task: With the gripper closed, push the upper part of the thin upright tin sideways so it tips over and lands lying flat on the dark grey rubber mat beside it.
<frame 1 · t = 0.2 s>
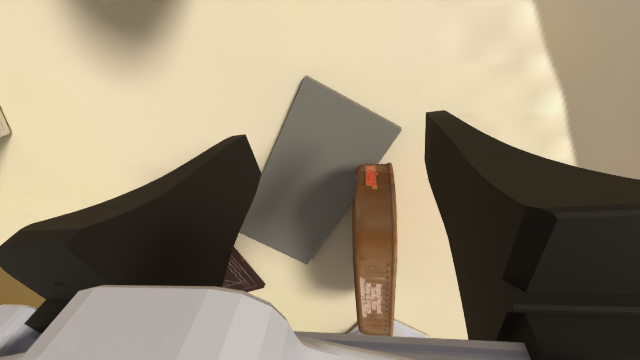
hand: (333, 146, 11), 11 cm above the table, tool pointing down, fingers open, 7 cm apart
chocolate bar: (190, 271, 35), on the table
tin: (369, 217, 26), on the table, touching mat
mat: (307, 185, 25), on the table
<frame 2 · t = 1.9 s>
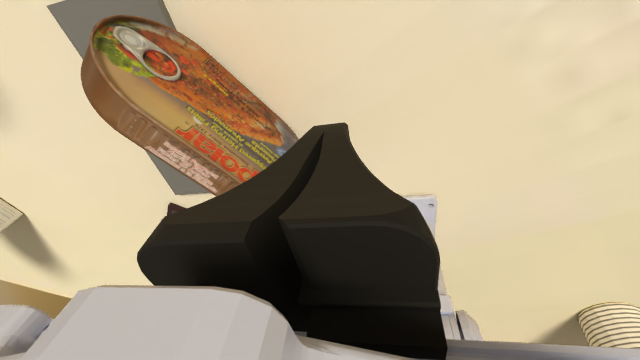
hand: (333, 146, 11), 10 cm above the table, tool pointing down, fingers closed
tin: (236, 100, 22), on the table, touching mat
mat: (168, 111, 23), on the table
cup: (606, 312, 33), on the table
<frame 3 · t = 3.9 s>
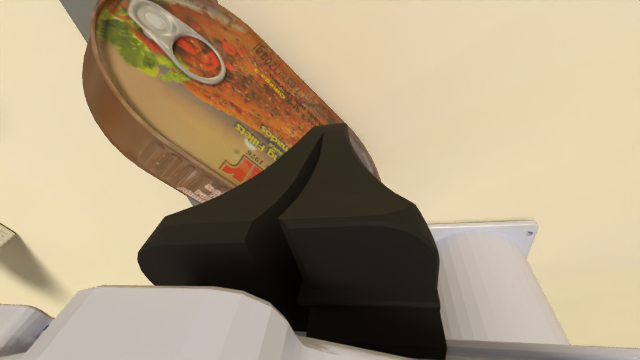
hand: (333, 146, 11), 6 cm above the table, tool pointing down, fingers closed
tin: (290, 99, 16), on the table, touching mat
mat: (197, 113, 18), on the table
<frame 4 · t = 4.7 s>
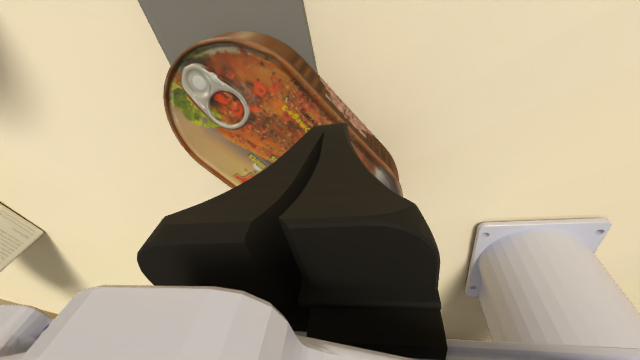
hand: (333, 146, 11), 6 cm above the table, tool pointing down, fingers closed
skincare box: (12, 216, 29), on the table
tin: (351, 109, 15), point 2 cm above the table, touching mat
mat: (258, 104, 17), on the table
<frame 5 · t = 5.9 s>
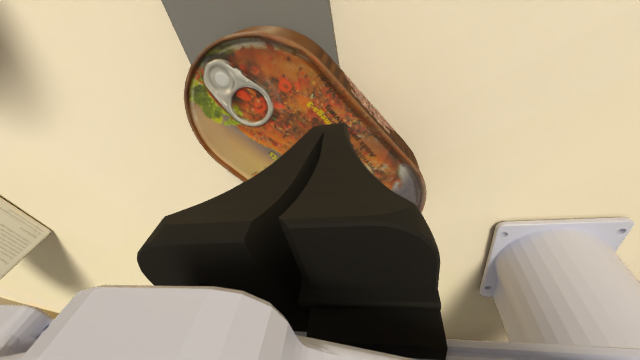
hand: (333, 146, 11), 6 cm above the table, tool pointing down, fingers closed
skincare box: (20, 215, 29), on the table
tin: (375, 105, 14), point 2 cm above the table, touching mat
mat: (277, 101, 17), on the table
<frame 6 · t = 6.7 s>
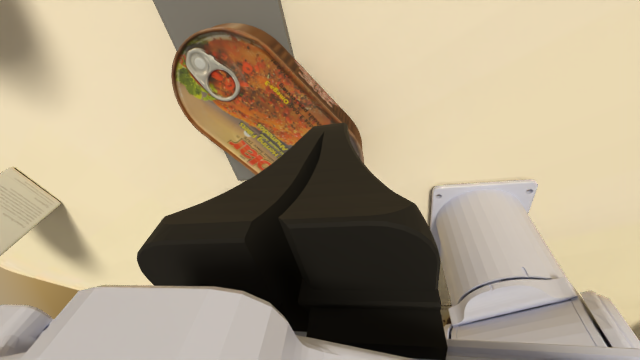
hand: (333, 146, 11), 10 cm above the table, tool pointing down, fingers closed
skincare box: (34, 188, 33), on the table
tin: (320, 84, 19), point 2 cm above the table, touching mat
mat: (247, 83, 21), on the table
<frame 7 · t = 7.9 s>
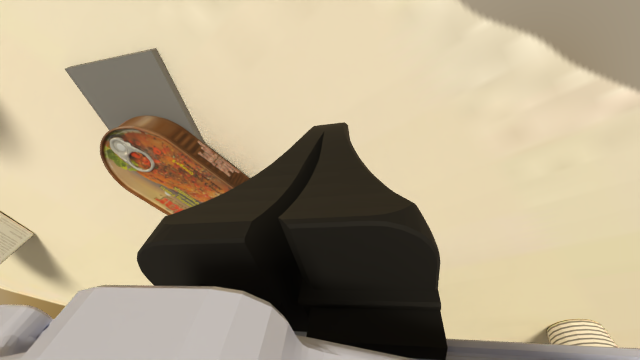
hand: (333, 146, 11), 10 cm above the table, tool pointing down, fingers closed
skincare box: (10, 222, 38), on the table
tin: (218, 159, 24), point 2 cm above the table, touching mat
mat: (169, 151, 26), on the table
cup: (572, 328, 36), on the table
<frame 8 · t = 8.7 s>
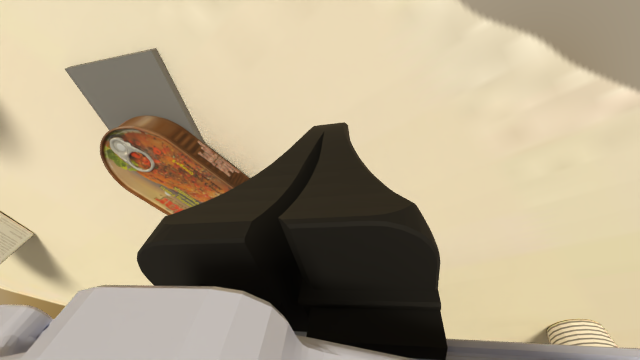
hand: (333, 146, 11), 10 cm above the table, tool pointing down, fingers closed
skincare box: (10, 222, 38), on the table
tin: (218, 159, 24), point 2 cm above the table, touching mat
mat: (169, 151, 26), on the table
cup: (572, 328, 36), on the table
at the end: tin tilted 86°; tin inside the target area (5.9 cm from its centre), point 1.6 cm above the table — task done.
